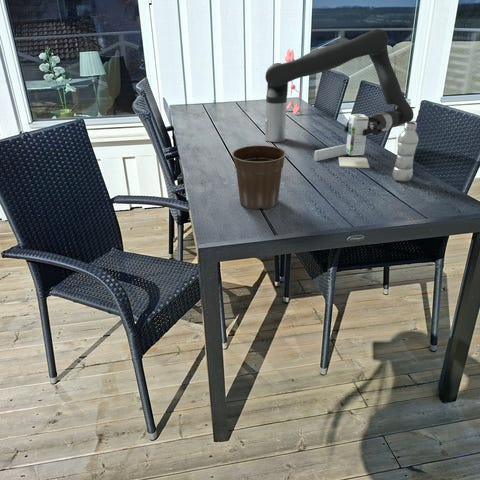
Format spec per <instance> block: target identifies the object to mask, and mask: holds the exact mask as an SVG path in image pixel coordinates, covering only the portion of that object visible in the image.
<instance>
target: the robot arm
mask: <svg viewBox="0 0 480 480" xmlns="http://www.w3.org/2000/svg"><path fill="white" fill-rule="evenodd" d="M388 44H389V36H388V34H387V32H386V31H385V30H383V29H379V28H375V29H371V30H370V31H367V32H366V33H364V34H361V35H359V36H357V37H355V38H352V39H349V40H346V41H341V42H337V43H334V44H331V45H327V46H324V47H321V48H317V49H316V50H313V51H311V52H308V53H307V54H305V55H302V56H301V57H299V58H297V59H294V61H291V62H287V63H286V62H284V63H281V62H276V63H273V64H271V65H270V66H269V67H268V68H267V70H266V72H265V80H266V83H267V89H266V97H265V98H266V100H265V111H266V112H265V123H264V124H265V130H264V131H265V133H264V141H265V142H270V143H271V142H272V143H273V142H274V143H276V142H277V143H280V142H284V141H286V129H287V128H286V127H287V117H286V116H287V110H286V107H287V106H288V105H287V103H288V88H289V83H290V82H293V81H294V80H297V79H299V78H303V77H308V76H312V75H316V74H320V73H324V72H328V71H330V70H333V69H336V68H338V67H340V66H342V65H345V64H346V63H348V62H350V61H352V60H355V59H357V58H360V57H365V56H366V57H367V56H369V58H370V60H371V62H372V64H373V66H374V69H375V71H376V75H377V77H378V82H379V85H380V88H381V92H382V95H383V98H384V101H385V103H386V104H387V105H390V106H392V105H396V107H398V108H394V109H393V110H387V111H385V112H379V113H375V114H372V115H369V116H367V117H368V126H367V129H364V130H363V136H366V137H367V136H368V135H371V136H374V135H375V136H378V135H381V134H384V133H385V132H386V131H388V130H390V129H393V128H396V127H399V126H401V125H405V123H406V122H413V119H414V115H415V114H414V110H413V108H412V106H411V105H410V104H409V102H408V101H407V99H406V97H405V96H404V95H403V92H402V89H401V85H400V82H399V80H398V77H397V75H396V72H395V71H394V69H393V68H394V67H393V66H392V64H391V60H390V56H389V51H388ZM348 127H349V121H348V122H346V125H345V126H344V130H343V131H344V133H348Z"/></svg>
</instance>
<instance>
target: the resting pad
mask: <svg viewBox="0 0 480 480" xmlns="http://www.w3.org/2000/svg"><path fill="white" fill-rule="evenodd" d="M337 158H338V164H339V167H340V168H354V169H355V168H356V169H357V168H358V169H359V168H360V169H362V168H363V169H370V164H369V162H368V159H367V157H352V156H351V157H349V156H348V157H346V156H337Z"/></svg>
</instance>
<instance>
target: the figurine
mask: <svg viewBox="0 0 480 480" xmlns="http://www.w3.org/2000/svg"><path fill="white" fill-rule="evenodd" d="M294 57H295V56H294V49H293V48H292V49H291V50H290V49H289V48H287V51H286V55H285V57H284V61H285V63H287V62H291V61H294V60H295V58H294ZM292 90H294V91H295V92H297V93H298V98H297V102H296V104H295V105H294V103H293V100H290V102H289V103H288V105H287V106H286V111H287V110H289V108H290V107H291V106H292V107H291V108H290V110H291V109H292V112H293V113H292V114H294V115H293V116H295V115H296V114H297V113H298V112H299V114H300V115H302V111H301V109H300V104H299V99H300V96H301V93H300V91H298V90H297V89H296V85H295V84H293V82H291V85H290V95H292ZM286 118H288V116H287V115H286Z"/></svg>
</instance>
